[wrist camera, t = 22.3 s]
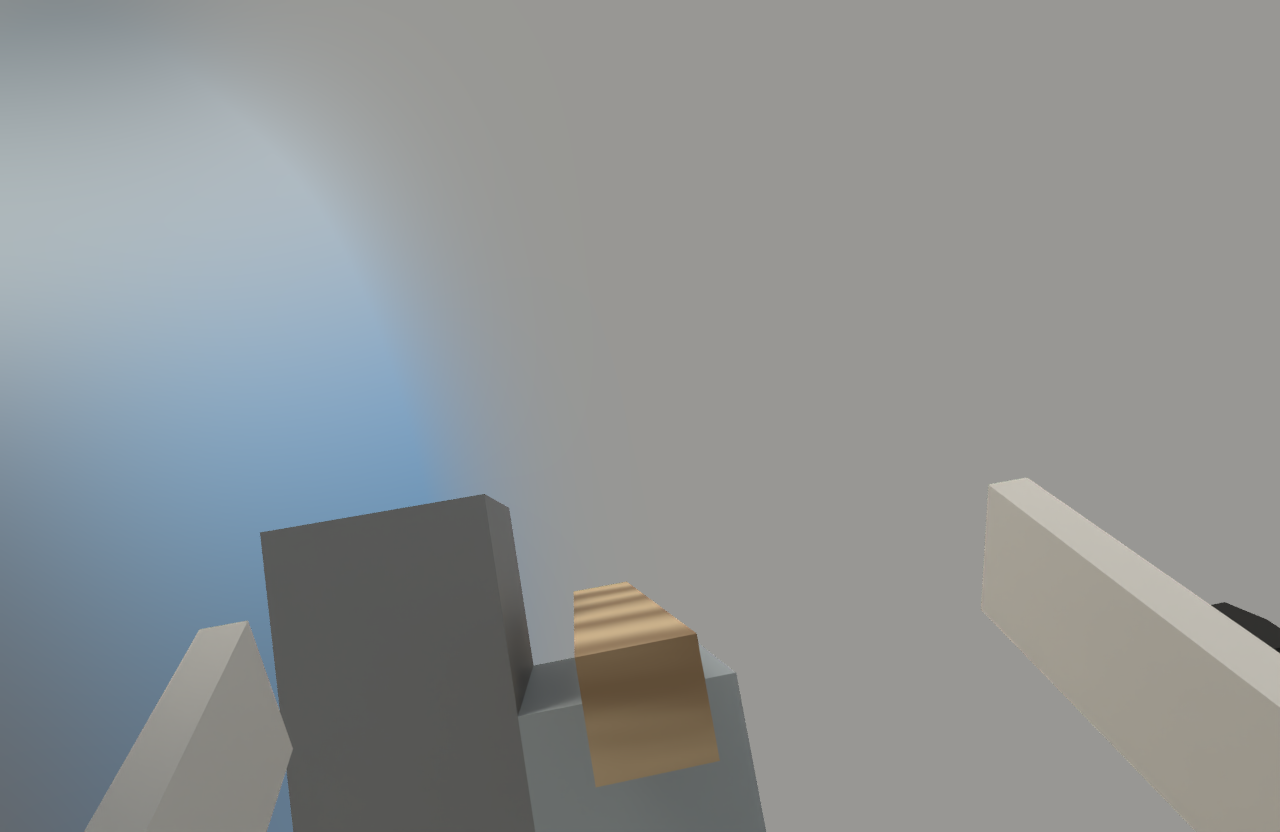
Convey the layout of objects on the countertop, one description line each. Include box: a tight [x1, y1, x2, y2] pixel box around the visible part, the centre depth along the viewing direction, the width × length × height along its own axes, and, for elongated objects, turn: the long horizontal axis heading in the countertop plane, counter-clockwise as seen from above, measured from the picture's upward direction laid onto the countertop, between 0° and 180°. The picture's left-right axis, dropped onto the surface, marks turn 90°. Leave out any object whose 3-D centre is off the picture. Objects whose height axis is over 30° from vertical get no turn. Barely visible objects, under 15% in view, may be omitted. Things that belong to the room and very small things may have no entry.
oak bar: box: [574, 582, 720, 787], centre depth 32 cm, size 26×3×3 cm, turn 5°
